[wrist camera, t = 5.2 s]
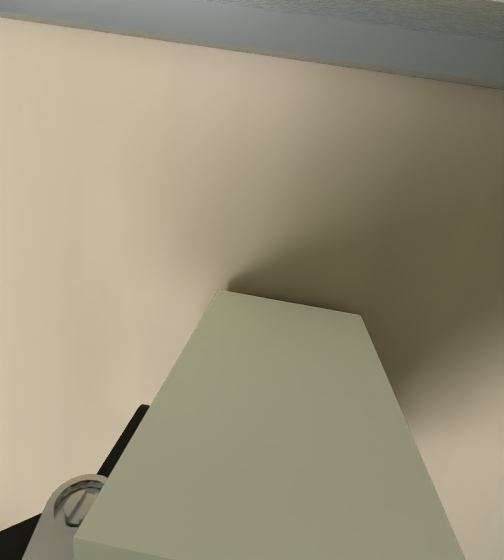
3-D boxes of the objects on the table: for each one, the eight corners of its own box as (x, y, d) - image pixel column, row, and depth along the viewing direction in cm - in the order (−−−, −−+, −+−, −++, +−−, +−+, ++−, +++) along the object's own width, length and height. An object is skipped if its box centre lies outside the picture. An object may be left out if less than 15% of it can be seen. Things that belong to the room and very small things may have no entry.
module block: (360, 315, 11) (498, 632, 4) (314, 484, 14) (340, 896, 6) (218, 289, 11) (72, 536, 4) (196, 460, 14) (78, 824, 6)
